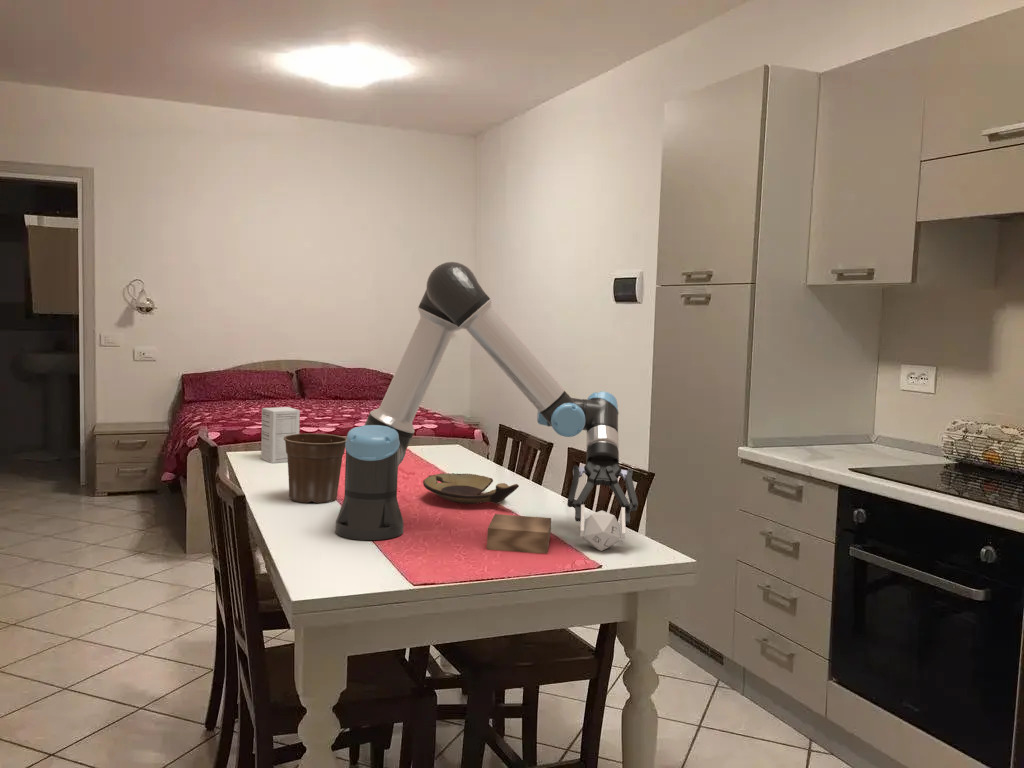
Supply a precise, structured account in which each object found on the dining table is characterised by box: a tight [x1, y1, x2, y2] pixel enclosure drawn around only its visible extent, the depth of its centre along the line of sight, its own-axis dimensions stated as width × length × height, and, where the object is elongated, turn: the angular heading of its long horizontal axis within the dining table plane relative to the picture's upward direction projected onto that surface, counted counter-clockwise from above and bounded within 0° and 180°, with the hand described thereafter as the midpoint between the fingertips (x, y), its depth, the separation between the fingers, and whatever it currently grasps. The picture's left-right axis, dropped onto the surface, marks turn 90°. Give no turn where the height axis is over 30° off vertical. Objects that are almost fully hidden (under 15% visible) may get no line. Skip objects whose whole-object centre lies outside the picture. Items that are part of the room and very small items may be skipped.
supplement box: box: [260, 406, 301, 464], centre depth 266 cm, size 10×9×17 cm
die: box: [582, 510, 622, 552], centre depth 181 cm, size 8×9×10 cm
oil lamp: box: [422, 472, 520, 505], centre depth 219 cm, size 22×30×8 cm
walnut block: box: [486, 513, 552, 555], centre depth 182 cm, size 13×13×5 cm
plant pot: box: [284, 432, 347, 504], centre depth 214 cm, size 16×16×16 cm
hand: (602, 534), depth 178 cm, fingers closed on die, 8 cm apart
